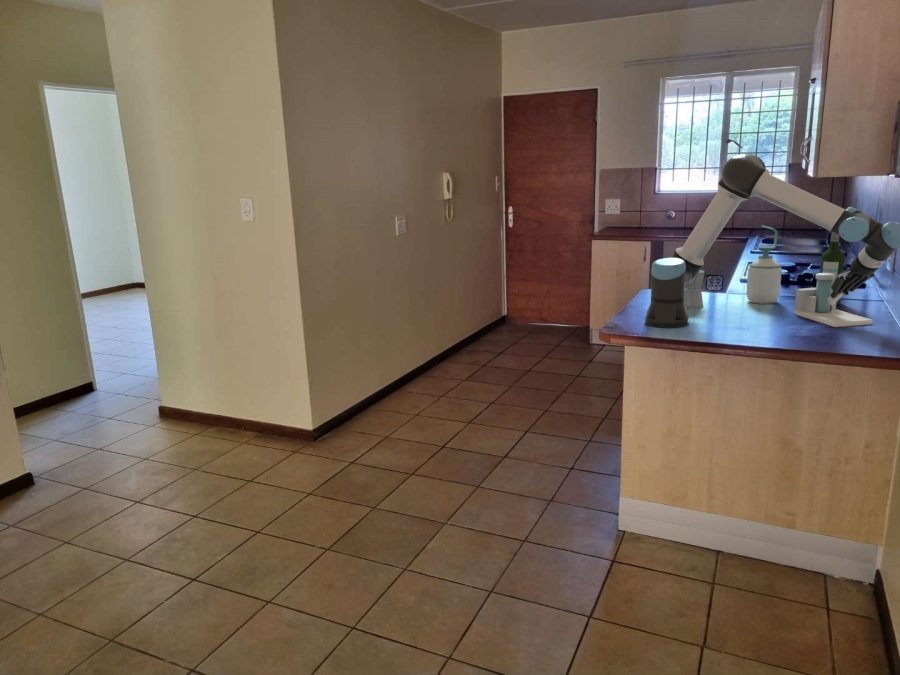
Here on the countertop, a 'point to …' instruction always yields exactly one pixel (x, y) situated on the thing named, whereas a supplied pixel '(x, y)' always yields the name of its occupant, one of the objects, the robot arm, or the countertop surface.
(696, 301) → the coffee maker
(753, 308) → the countertop surface
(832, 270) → the wine bottle
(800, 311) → the mount
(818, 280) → the teal jar
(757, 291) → the soap bottle
